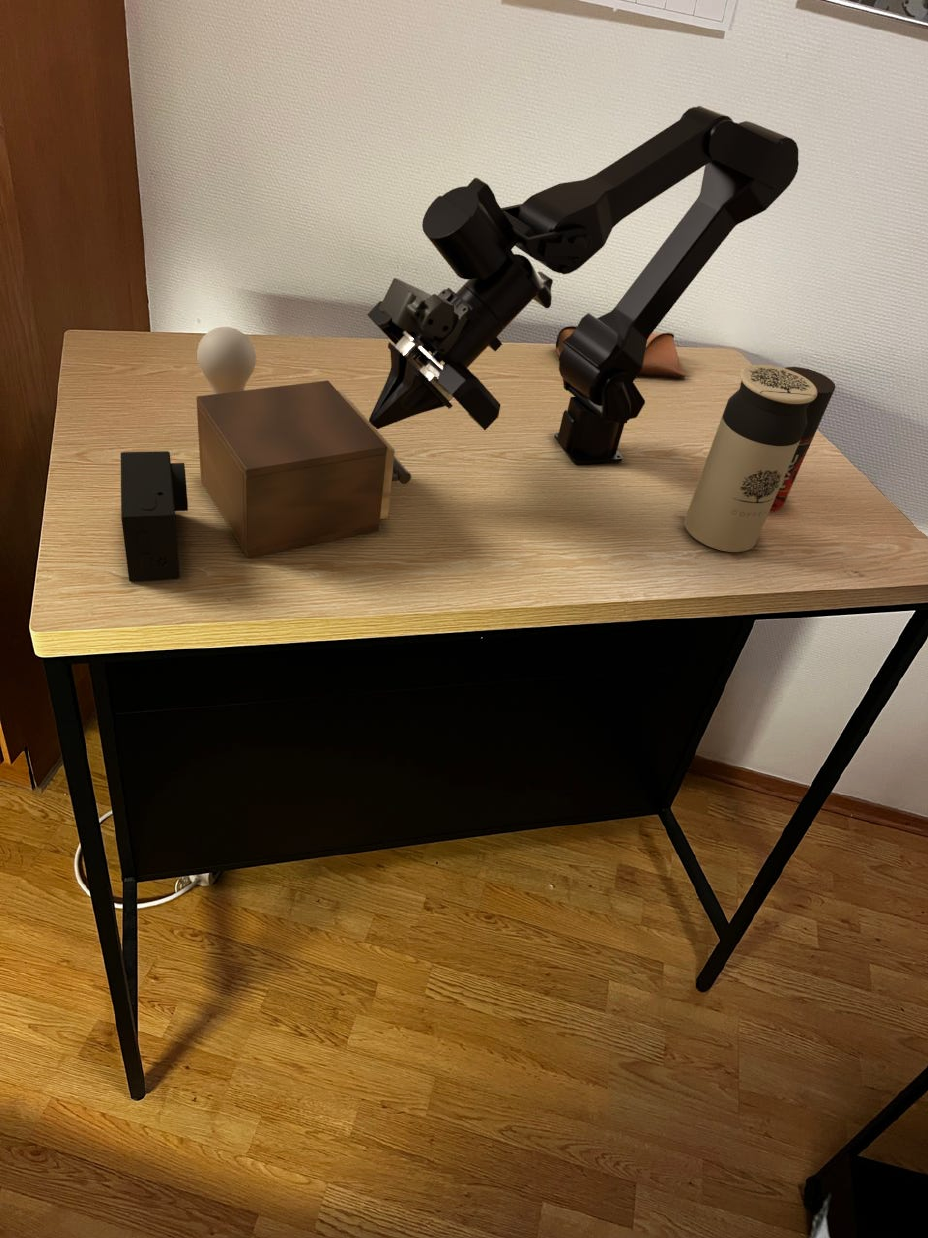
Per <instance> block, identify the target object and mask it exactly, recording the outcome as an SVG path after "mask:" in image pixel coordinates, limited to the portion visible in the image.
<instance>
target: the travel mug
mask: <svg viewBox="0 0 928 1238" xmlns="http://www.w3.org/2000/svg"><path fill="white" fill-rule="evenodd" d="M784 368H785V367H780V366H777V365H772V364H771V365H770V364H752V365H747V366H746V367H744V368H742V370H741V371H740V374H739V377H740V385H739V389H737V391H735V392H734V393H733V394H732V395H731V396H730V397H729V398H728V400H727V402H726V404H725V408H724V410H723V413H722V416H721V418H720V421H719V424H718V427H717V429H716V432H715V436H714V438H713V441H712V443H711V446H710V449H709V452H708V454H707V457H706V460H705V462H704V465H703V468H702V471H701V473H700V475H699V476H700V477H699V479H698V482H697V484H696V487H695V490H694V492H693V496H692V499H691V501H690V504H689V507H688V509H687V512H686V515H685V517H684V522H683V523H684V526H685V528H686V531H687V532H688V533H689V535H691V537H693V538H694V539H695V540H697V541H698V542H699V543H701V544H703V545H705V546H707V547H708V548H711V549H715V550H718V551H722V552H730V553H741V552H746V551H749V550H751V549H753V547H754V546H755V545H756V544H757V541H758V539H759V537H760V535H761V532H762V530H763V527H764V525H765V522H766V521H767V518H768V516H769V513H770V512H769V511H770V509H771V507H772V504H773V502H774V500H775V497H776V495H777V493H778V491H779V488H780V486H781V484H782V481H783V479H784V477H785V474H786V472H787V470H788V468H789V465H790V463H791V461H792V458H793V456H794V454H795V451H796V449H797V447H798V445H799V442H800V440H801V438H802V435H803V433H804V431H805V428H806V426H807V414H806V408H807V407H808V405H809V404H810V402H811V401H813V400H814V399H815V398H816V397H817V389H816V387H815V386H814V384H813V383H812V382H810V381H809V380H808V379H806V378H805V377H803V376H801V375H800V374H798V373H795V372H793V371H790V370H788V369H784Z"/></svg>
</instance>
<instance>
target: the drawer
mask: <svg viewBox="0 0 928 1238" xmlns="http://www.w3.org/2000/svg"><path fill="white" fill-rule="evenodd" d="M336 390H337V391H338V392H339V393H340V394H341V395H342V397H343V398H344V399H345V400H346V401H347V402H348V403H349V404H350V406H351V407H352V408H353V409H354V410H355V411H356V412H357V413H358V415H359V416H360V417H361V418H362V419H363V420H364V421H365V422H366V423H367V425H368V426H369V427H370V428H371V429H372V430H373V431H374V432H375V434H376V435H377V436H378V437H379V438H380V439H381V440H382V441H383V443H384V444H385V445H386V446H387V454H386V464H385V474H384V484H383V494H382V505H381V515H380V520H382V519H388V518H389V509H390V499H391V489H392V483H396V482H399V483H400V484H401V485H406V484H408V483H409V482H411V480H412V475H411V473H410V472H409V471H408V470H407V468H405V466H404V465H403V464H402V463H401V462H400V461H399V459H398V458H397V457H396V456H395V455H396V454H395V452H396V451H395V448H394V447H393V446H392V445H391V444H390V443H389V441H387V440H386V438H385V437H384V436H383V434H381V433H380V431H379V430H378V429H376V428H375V427H374V426H373V425H372V424H371V423H370V422H369V419H368V418H367V417H366V416H365V415H364V414H363V412H361V411H360V410H359V408H358V407H357V406H356V405H355V404H354V403H353V402H352V400H350V399H349V397H348V396H347V395H346V394H345V393H344V391H343V390H342V389H336Z"/></svg>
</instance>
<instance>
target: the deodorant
mask: <svg viewBox="0 0 928 1238" xmlns="http://www.w3.org/2000/svg"><path fill="white" fill-rule="evenodd" d="M783 368H784V369H788V370H790V371H793V372H795V373H798V374H800V375H801V376H803V377H805V378H806V379H808V380H809V381H810V382H812V383H813V384H814V386H815V387H816V389H817V397H816V398H815V399H814V400H813V401H811V402H810V404H809V405H808V407H807V408H806V414H807V426H806V428H805V431H804V433H803V435H802V438H801V440H800V442H799V445H798V447H797V449H796V451H795V454H794V456H793V458H792V461H791V463H790V465H789V468H788V470H787V472H786V474H785V477H784V479H783V481H782V484H781V486H780V488H779V491H778V493H777V495H776V497H775V500H774V502H773V504H772V507H771V509H770V511H769V513H772V512H773V513H774V512H778V511H780V510H781V509H782V508H784V505H785V503H786V501H787V498H788V496H789V493H790V492H791V489H792V487H793V485H794V482H795V480H796V478H797V475H798V473H799V471H800V469H801V467H802V464H803V462H804V460H805V457H806V455H807V453H808V451H809V449H810V446H811V444H812V442H813V440H814V437H815V436H816V435H815V434H816V432H817V431H818V428H819V425H820V424H821V422H822V419H823V417H824V415H825V413H826V410H827V408H828V406H829V404H830V401H831V399H832V397H833V395H834V393H835V390H836V383H835V382H834V381H833V380H832V379H830V378H829V377H828V376H827V375H825V374H823V373H820V372H818V371H816V370H814V369H809V368H805V367H800V366H787V367H783Z"/></svg>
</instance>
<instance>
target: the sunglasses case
mask: <svg viewBox="0 0 928 1238" xmlns="http://www.w3.org/2000/svg"><path fill="white" fill-rule="evenodd" d="M577 326H578V325H577ZM577 326H575V325H568V326H565V327H563V328H562V329H560V330H559V331H558V334H557V337H556V341H555V352H556V354H557V356H558V357H559V356H560V353H561V352H562V350H563V348H564V347H565V345H566V344H564V343H563V341H564V340H565V339H566V338H568V337H569V336H570V335H571V334H572V333H573V332H574V330H575V329H576V327H577ZM674 338H675V334H674V333H672V332H660V333H659V332H657V333H656V332H655V333H653V332H652V334H651V335H650V336H649V338H648V340H647V344H646V350H645V355H644V361H643V366H642V369H641V370H640V372H639V374H638V375H637V377H638V376H639V377H651V378H652V377H657V378H673V377H674V378H677V377H683V378H686V374H685V373H684V372H683V370H682V367H681V363H680V358H679V355H678V352H677V351H678V350H677V347H676V343H675V340H674Z"/></svg>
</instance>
